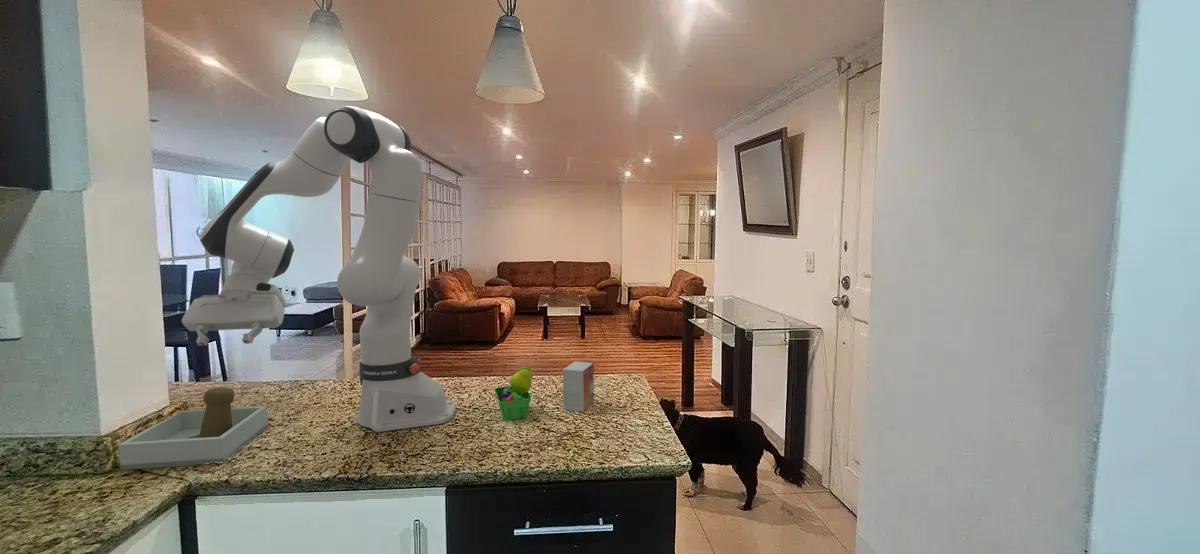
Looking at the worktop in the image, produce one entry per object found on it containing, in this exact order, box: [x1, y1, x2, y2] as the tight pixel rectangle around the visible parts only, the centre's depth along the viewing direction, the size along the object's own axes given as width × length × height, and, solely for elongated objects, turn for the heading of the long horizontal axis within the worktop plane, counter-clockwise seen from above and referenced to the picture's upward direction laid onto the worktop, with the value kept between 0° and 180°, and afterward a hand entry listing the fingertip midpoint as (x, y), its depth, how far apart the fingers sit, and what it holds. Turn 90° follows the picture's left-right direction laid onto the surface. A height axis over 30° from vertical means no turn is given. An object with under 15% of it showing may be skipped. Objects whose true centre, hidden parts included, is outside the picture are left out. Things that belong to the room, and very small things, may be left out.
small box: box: [562, 361, 595, 413], centre depth 130 cm, size 8×6×10 cm
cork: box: [199, 386, 236, 438], centre depth 107 cm, size 6×6×11 cm
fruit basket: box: [494, 366, 533, 421], centre depth 126 cm, size 11×9×11 cm
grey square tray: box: [117, 405, 270, 471], centre depth 108 cm, size 18×18×5 cm
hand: (224, 343), depth 116 cm, fingers open, 8 cm apart
